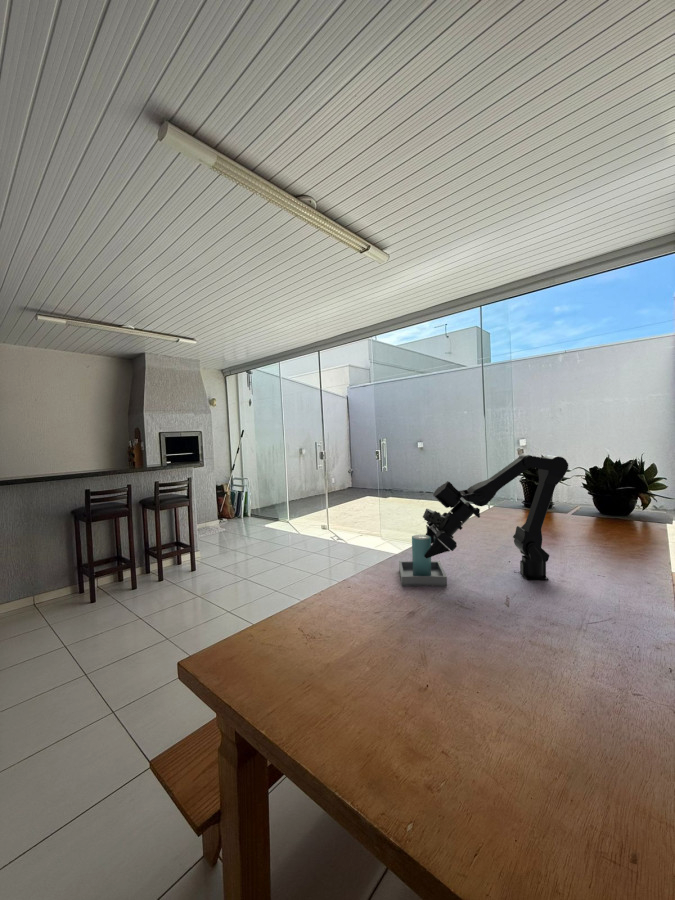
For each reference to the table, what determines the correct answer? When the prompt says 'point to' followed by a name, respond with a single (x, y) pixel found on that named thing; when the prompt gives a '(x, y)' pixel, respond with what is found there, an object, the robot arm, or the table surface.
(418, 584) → the tray
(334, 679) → the table surface
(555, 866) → the table surface
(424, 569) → the teal cylinder
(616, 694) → the table surface
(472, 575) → the table surface
